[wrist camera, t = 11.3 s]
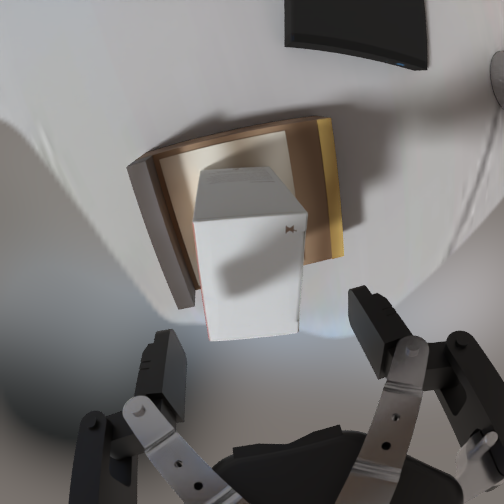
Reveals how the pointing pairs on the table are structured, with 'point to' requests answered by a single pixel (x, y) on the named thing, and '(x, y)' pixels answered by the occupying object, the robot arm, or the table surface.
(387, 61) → the external hard drive
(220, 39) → the table surface
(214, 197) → the small box
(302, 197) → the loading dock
